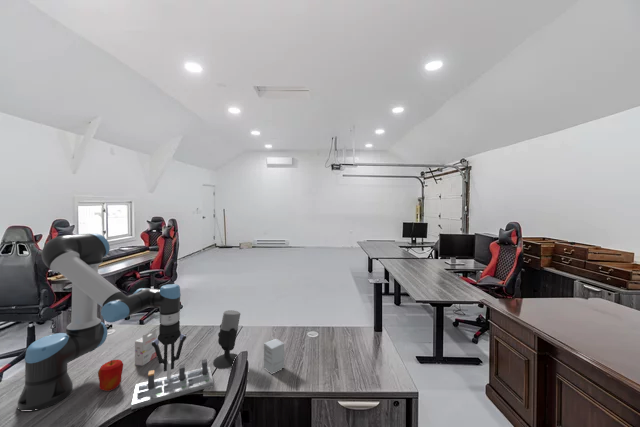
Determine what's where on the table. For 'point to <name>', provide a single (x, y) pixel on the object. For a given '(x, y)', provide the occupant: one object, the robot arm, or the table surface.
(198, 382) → the breaker panel
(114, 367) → the apple
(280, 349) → the supplement box
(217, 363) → the microphone
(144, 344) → the ink cartridge box
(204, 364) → the breaker right
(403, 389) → the table surface
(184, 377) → the breaker mid
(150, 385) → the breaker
